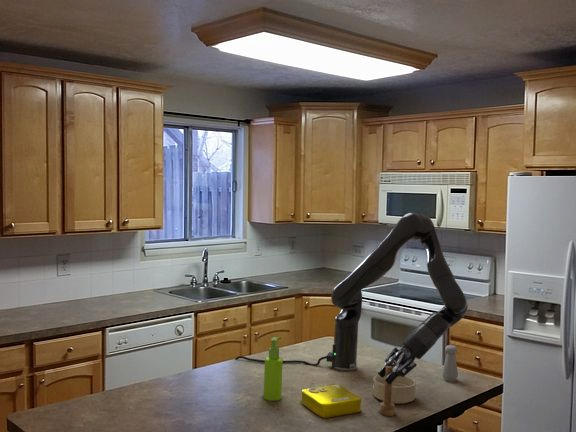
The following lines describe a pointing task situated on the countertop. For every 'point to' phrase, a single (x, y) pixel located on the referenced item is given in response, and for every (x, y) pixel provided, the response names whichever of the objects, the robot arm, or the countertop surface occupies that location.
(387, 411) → the wooden pestle
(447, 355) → the salt shaker
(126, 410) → the countertop surface
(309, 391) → the element tile
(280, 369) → the soap dispenser
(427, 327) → the robot arm
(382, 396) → the bowl
